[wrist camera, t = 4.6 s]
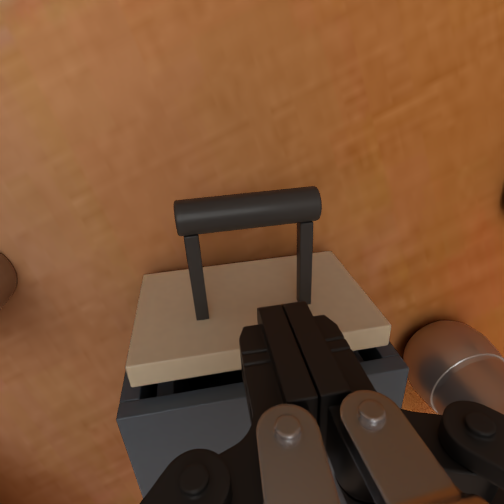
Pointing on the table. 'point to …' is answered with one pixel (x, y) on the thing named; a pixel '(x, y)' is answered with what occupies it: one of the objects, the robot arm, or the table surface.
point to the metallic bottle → (455, 366)
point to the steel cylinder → (6, 280)
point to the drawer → (239, 294)
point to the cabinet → (215, 415)
